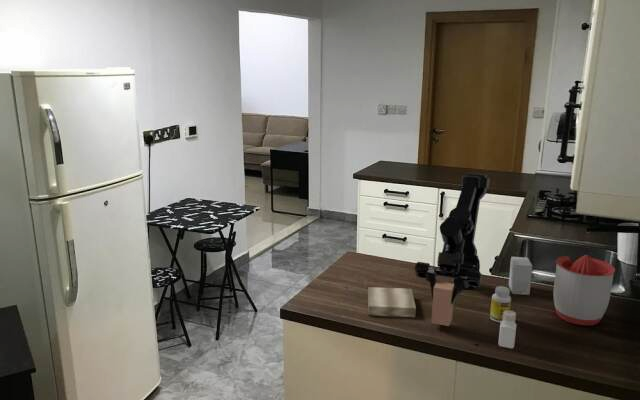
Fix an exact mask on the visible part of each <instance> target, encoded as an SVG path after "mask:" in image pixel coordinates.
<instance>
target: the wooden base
mask: <svg viewBox="0 0 640 400" xmlns="http://www.w3.org/2000/svg"><path fill="white" fill-rule="evenodd" d="M415 302H416V301H415V298H414V294H413V290H412V288H401V287H398V288H397V287H373V286H371V287H370V286H368V288H367V305H368V316H377V317H378V316H379V317H401V318H403V317H405V318H416V314H417V313H416V312H417V311H416V310H417V307H416V303H415Z"/></svg>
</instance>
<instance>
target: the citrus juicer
mask: <svg viewBox="0 0 640 400" xmlns="http://www.w3.org/2000/svg"><path fill="white" fill-rule="evenodd" d="M571 261H572V260H571V258H570V257H569V256H568V255H565V256H560V257H558V258H557V259H556V260H555V263H556V265H555V266H556V268H555V273H554V274H555V276H554V285H553V294H552V295H553V303H554V309H555V312H556V315H557V316H558V317H559V318H560V319H562V320H564V321H566V322H567V323H568V324H574V325H579V326H595V325H597V324H598V323H600V321H602V319H603V317H604V315H605V313H606V311H607V309H608V306H609V303H610V299H611V292H612V286H613V280H614V276H615V275H614V274H615V273H616V268H615V267H614V266H613V265H612V264H610V263H608V262H606V261H603V260H602V259H601V260H600V259H597V258H594V257H590V256H589V255H587V254H585V255H582V256H581V257H580V258H578V259H576V260H575V261H574V262H571Z"/></svg>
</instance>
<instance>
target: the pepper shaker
mask: <svg viewBox="0 0 640 400" xmlns="http://www.w3.org/2000/svg"><path fill="white" fill-rule="evenodd" d="M516 317H517V313H516V312H515V311H514V310H511V309H510V310H505V311H504V312H503V321H501V323H499V324H500V325H499V331H498V333H499V334H498V343H497V344H498V346H499V347H502V348H508V349H510V350H511V349H514V348H515V343H516V342H515V341H516V334H517V333H516V331H517V323H516Z"/></svg>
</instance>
